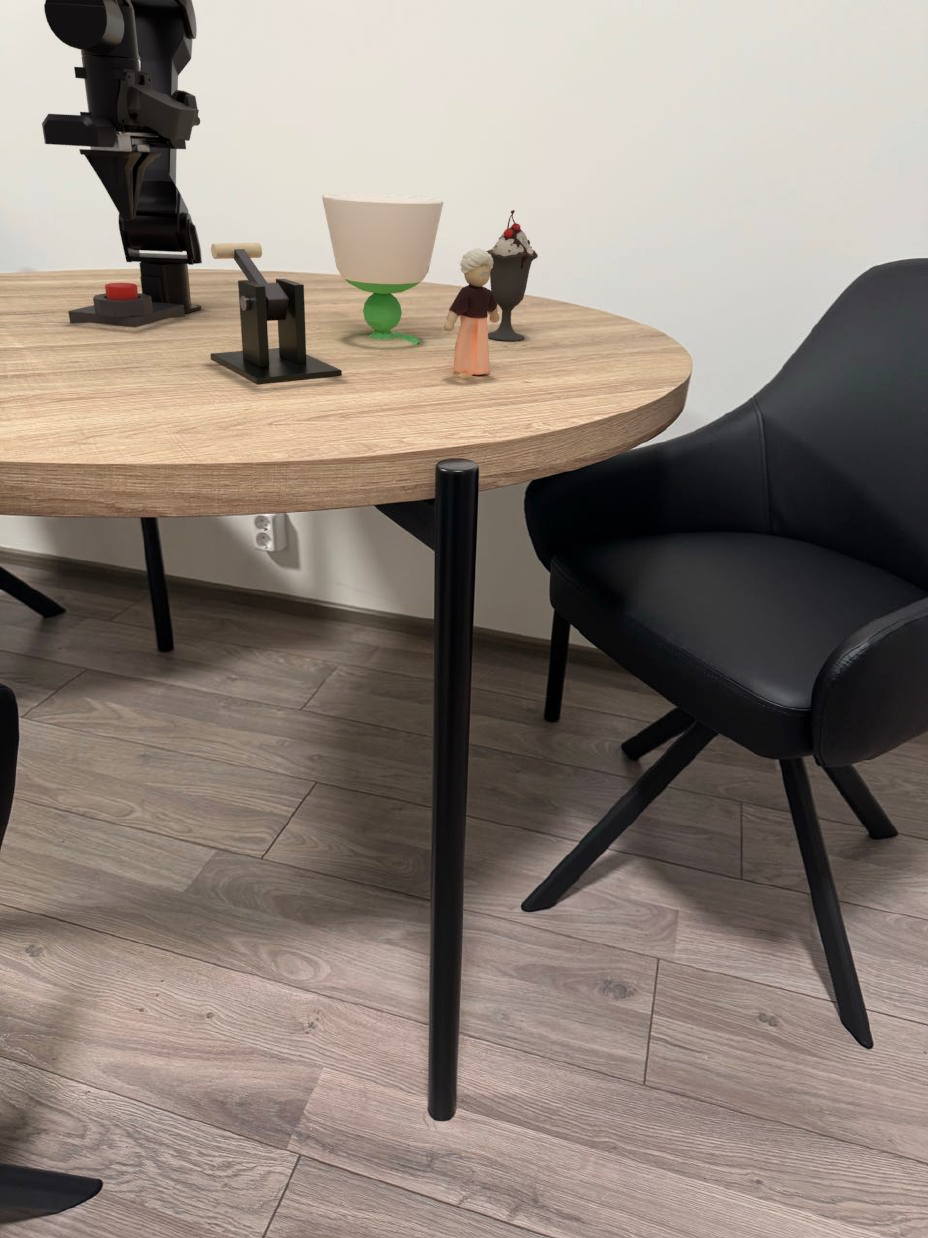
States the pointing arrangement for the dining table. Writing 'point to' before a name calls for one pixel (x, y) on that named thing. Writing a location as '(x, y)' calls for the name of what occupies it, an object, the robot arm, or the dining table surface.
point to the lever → (254, 275)
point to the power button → (121, 291)
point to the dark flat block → (125, 311)
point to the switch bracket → (256, 355)
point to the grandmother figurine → (473, 315)
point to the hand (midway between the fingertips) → (128, 219)
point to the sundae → (510, 276)
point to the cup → (382, 249)
